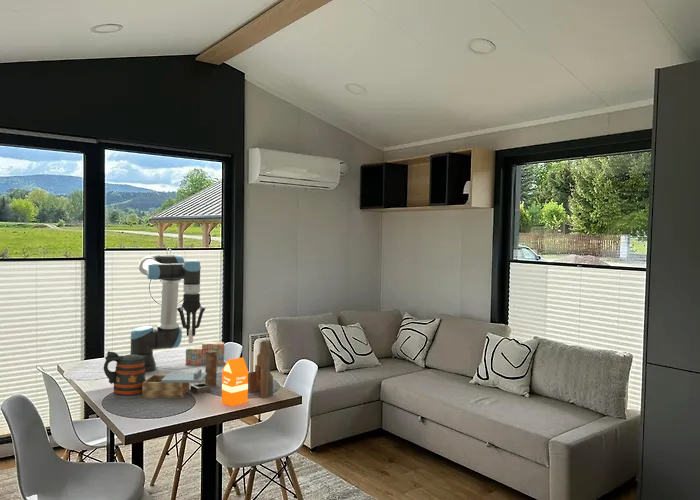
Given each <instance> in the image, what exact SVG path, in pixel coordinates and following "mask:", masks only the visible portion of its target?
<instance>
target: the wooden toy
mask: <svg viewBox="0 0 700 500" xmlns="http://www.w3.org/2000/svg"><path fill="white" fill-rule="evenodd" d="M270 356H273V353H272V352H271V350H270V347H269V345H268V343H267V341H266V340H262V341H260V352H259V353H258V354H257V356H256V364H255V366H254V371H252V372H248V393H253V392H254V393H255V392H258V391H260V398H261V399H262V398H263V399H266V398H268V397H270V396H273V394H274V391H273V390H274V375H273V374H272V373H271V370H270V360H271V359H270Z"/></svg>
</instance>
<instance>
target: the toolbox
mask: <svg viewBox="0 0 700 500" xmlns="http://www.w3.org/2000/svg"><path fill="white" fill-rule="evenodd" d="M166 375H167V374H151V375H149V376H148V377H147V378H145V381H144V382H143V383H142V393H141V395H142V396H141V397H142V398H143V399H146V398H147V399H152V398H153V399H159V398H160V399H183V398H184V396H185V395H186V393H188V391H189V390H190V383H161V380H162V379H163V378H164V377H165V376H166ZM166 397H167V398H166Z"/></svg>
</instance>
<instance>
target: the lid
mask: <svg viewBox="0 0 700 500" xmlns="http://www.w3.org/2000/svg"><path fill="white" fill-rule="evenodd" d="M165 375H166V376H165V377H164V378H163V379H162V380H161V383H189V384H190V383H191V384H194V383H195V384H199V383H203V381H204V380H205V377H206V376H207V373H205V372H202V368H201V367H200V368H199V367H198V369H196V371H194V372H189V371H187V372H185V371H184V372H182V371H180V372H179V371H176V372H174V371H170V372H168V373H167V374H165Z"/></svg>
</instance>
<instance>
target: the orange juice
mask: <svg viewBox="0 0 700 500" xmlns="http://www.w3.org/2000/svg"><path fill="white" fill-rule="evenodd" d="M248 374H249V370H248V368H247V364H246V361H245V359H244V357H237V358H233V359H227V361H226V362H225V365H224V367H223V368H222V375H221V376H222V377H221V378H222V380H221V403H222V404H224V405H227V406H230V407H234V406H238V405H243V404H246V403H248V398H249V397H248V395H249V394H248V393H249V392H248Z"/></svg>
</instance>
